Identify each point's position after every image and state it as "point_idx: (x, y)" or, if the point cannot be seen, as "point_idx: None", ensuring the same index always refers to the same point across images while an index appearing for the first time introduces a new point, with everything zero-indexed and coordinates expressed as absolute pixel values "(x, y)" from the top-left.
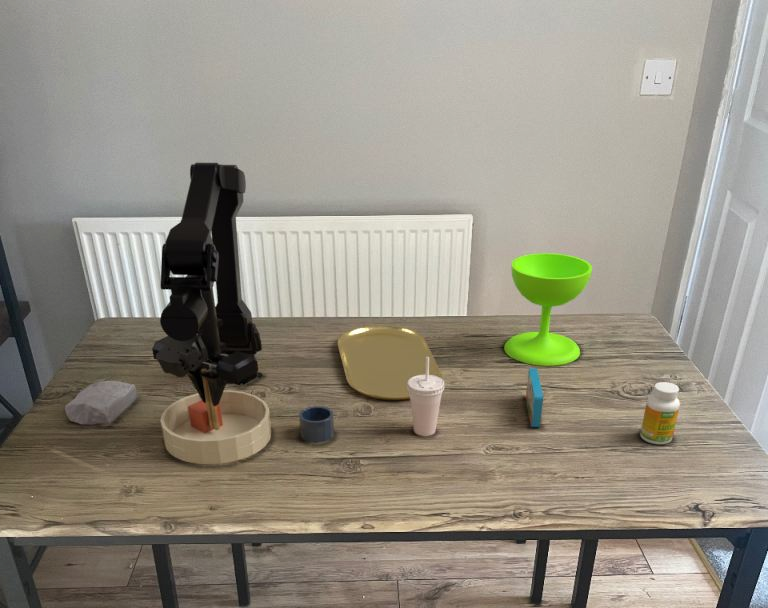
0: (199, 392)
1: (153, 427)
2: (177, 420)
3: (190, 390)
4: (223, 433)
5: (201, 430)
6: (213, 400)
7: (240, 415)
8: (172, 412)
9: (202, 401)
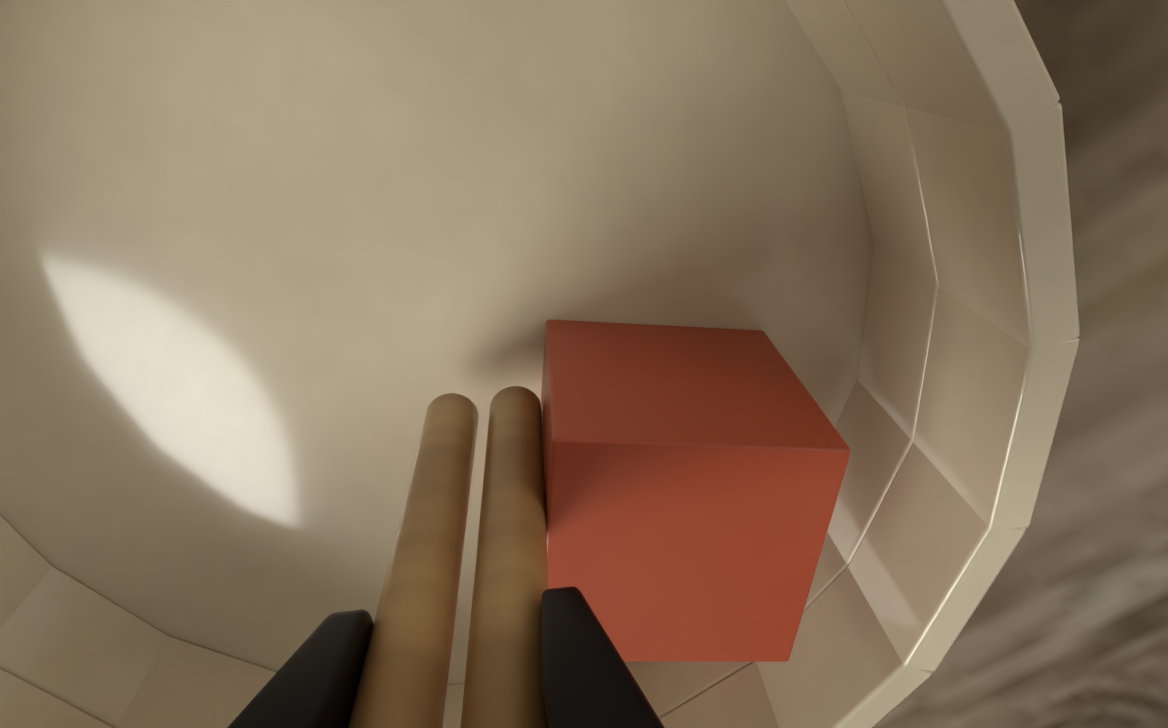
0: (600, 722)
1: (1117, 117)
2: (901, 277)
3: (1148, 664)
4: (412, 418)
5: (599, 326)
6: (273, 692)
7: None
8: (971, 261)
9: (773, 607)
